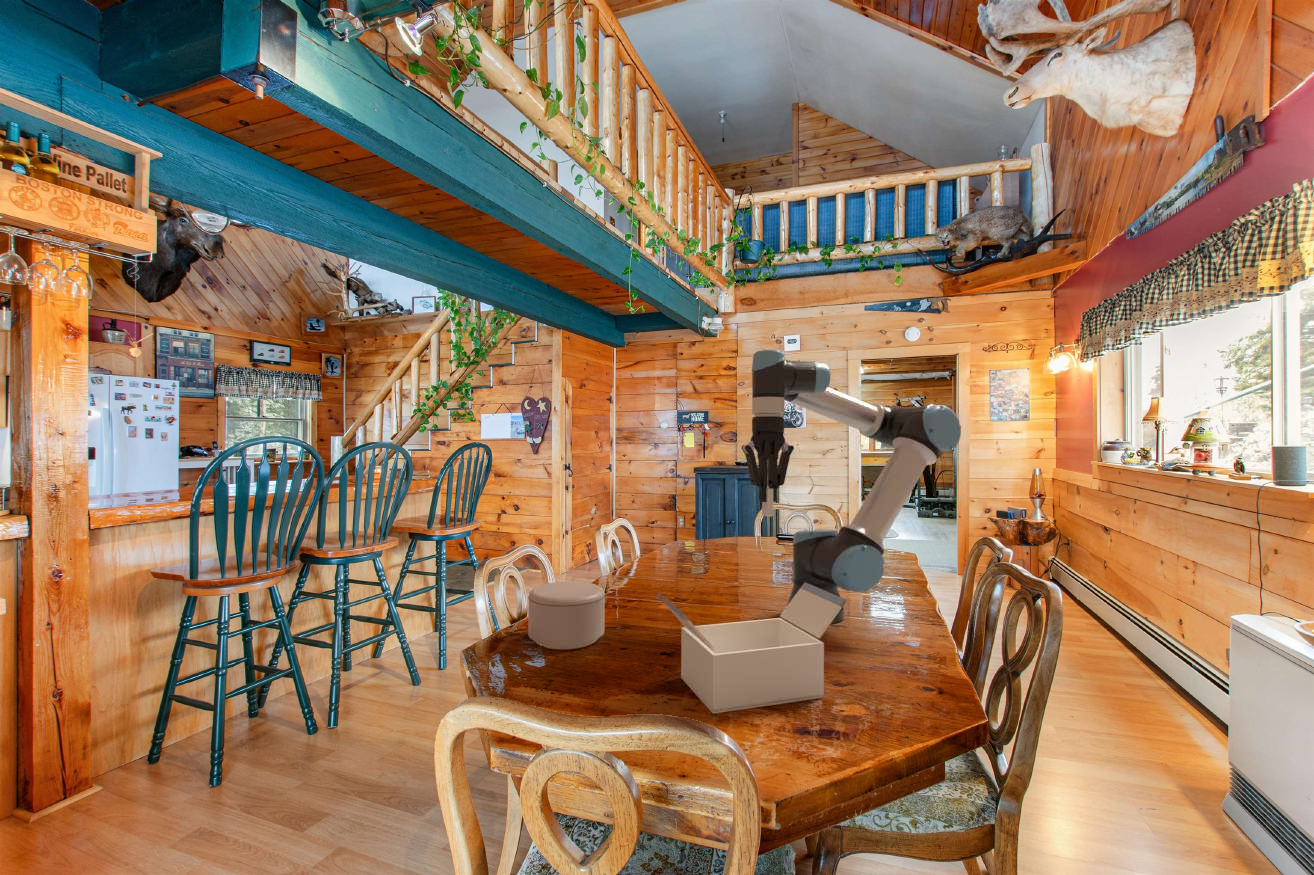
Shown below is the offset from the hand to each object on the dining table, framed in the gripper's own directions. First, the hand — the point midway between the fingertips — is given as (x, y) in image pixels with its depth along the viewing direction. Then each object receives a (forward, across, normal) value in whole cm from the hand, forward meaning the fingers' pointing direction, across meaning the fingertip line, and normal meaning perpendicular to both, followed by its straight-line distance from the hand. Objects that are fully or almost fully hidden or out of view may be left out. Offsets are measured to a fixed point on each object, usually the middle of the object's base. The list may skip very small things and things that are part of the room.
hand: (767, 515), depth 140 cm
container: (+30, +45, -15) cm, 56 cm away
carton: (+29, +16, +23) cm, 41 cm away
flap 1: (+15, +29, +23) cm, 40 cm away
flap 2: (+15, +3, +23) cm, 28 cm away
